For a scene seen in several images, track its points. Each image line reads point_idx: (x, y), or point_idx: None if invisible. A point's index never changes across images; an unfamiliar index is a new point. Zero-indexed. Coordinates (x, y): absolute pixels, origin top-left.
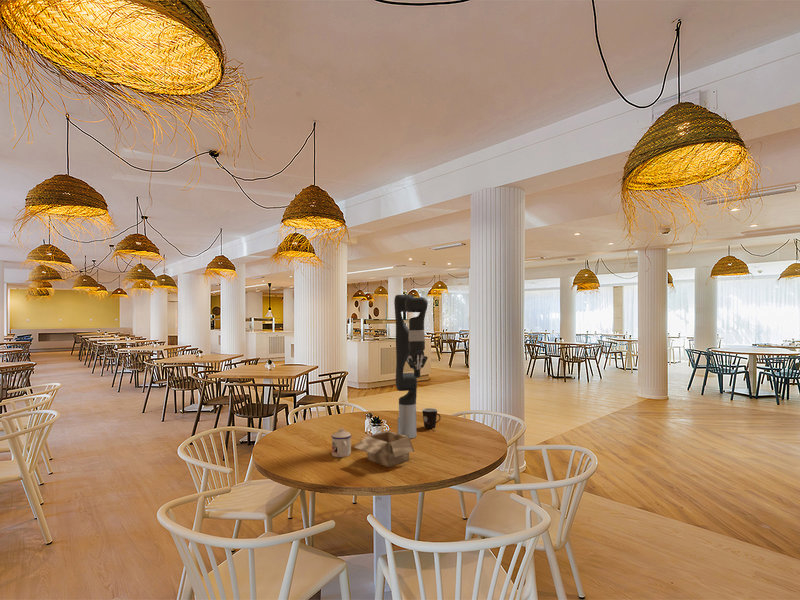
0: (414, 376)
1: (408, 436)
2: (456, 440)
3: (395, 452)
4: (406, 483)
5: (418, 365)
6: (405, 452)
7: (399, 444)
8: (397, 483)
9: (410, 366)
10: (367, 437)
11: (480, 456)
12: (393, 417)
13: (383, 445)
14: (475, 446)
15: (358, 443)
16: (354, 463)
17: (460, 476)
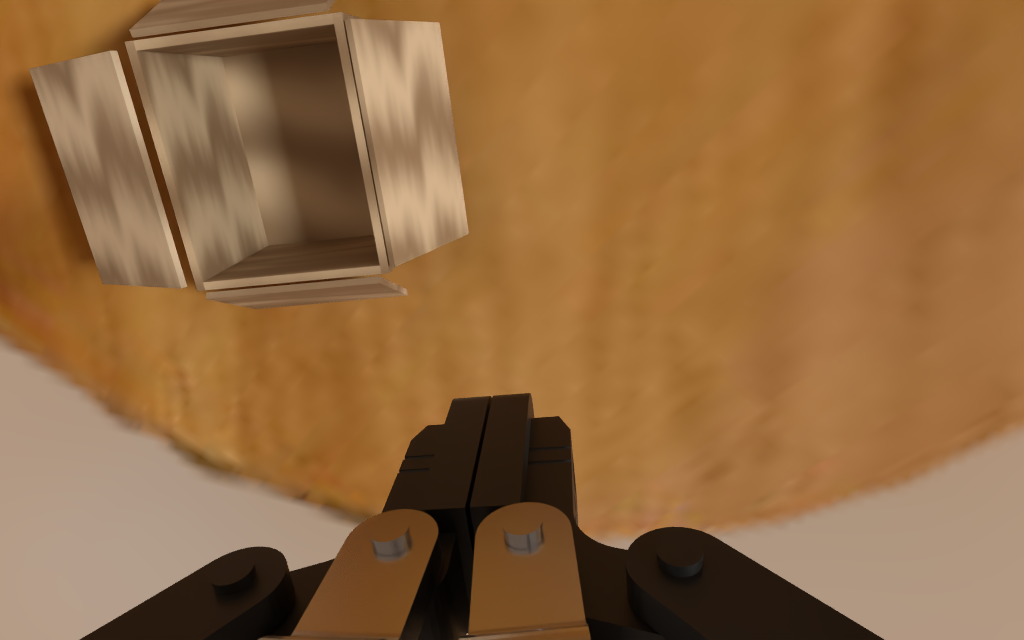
0: (453, 404)
1: (394, 263)
2: (993, 121)
3: (257, 305)
4: (237, 452)
5: (607, 623)
6: (342, 300)
7: (289, 296)
8: (203, 429)
9: (156, 633)
10: (109, 75)
11: (786, 441)
12: None
13: (157, 286)
14: (944, 308)
15: (54, 68)
16: (121, 55)
17: None
